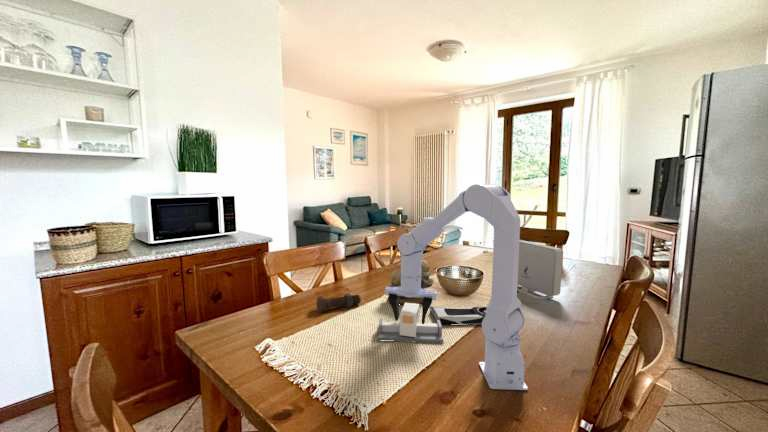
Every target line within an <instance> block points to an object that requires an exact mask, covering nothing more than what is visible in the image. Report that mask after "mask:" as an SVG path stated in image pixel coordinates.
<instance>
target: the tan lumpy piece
mask: <svg viewBox="0 0 768 432" xmlns="http://www.w3.org/2000/svg"><path fill="white" fill-rule="evenodd" d="M430 268H431V267H430V264H429V262H428V261H427V260H426V259H422V262H421V289H428V288H431V287H432V286H433V284H434V282H435V281H434V280H435V279H434V278H432V277H431V278H430V275H431V273H430ZM390 283H391V284H389V285H387V287H401V262H398V263H397V264H395V266H394V270H392V272H391V276H390ZM388 298H389V296H388V297H387V299H388ZM423 299H424V298H416V297H405V296H399V304H400V305H399V306H401V305H404V304H405V303H415V304H422V302H423Z"/></svg>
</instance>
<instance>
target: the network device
mask: <svg viewBox="0 0 768 432" xmlns="http://www.w3.org/2000/svg"><path fill="white" fill-rule="evenodd" d="M563 261H564V251H563V248H560V247H556V246H551V245H545V244H541V243H537V242H531V241H528V240H523V239H520V240H519V262H518V284H517V286H521V288H518V287H517V290H518V291H517V292H520V293H522V294H524V295H527V296H530V297H532V298H535V299H538V300H546V299H547V300H548V299H552V298H553V297H554V296H559V295H560V294H561V287H562V286H561V285H562V275H563V274H562V273H563ZM533 292H538V293H540V294H543V295H544V296H538V295H536V294H533Z"/></svg>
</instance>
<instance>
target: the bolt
mask: <svg viewBox="0 0 768 432" xmlns="http://www.w3.org/2000/svg"><path fill="white" fill-rule="evenodd" d="M361 303H362V298H361V295H360V294H353V295H351V293H349V292H348V293H345V294H344V295H343V296H339V297H332V298H331V297H330V298H325V297H324V296H323V295H318V296H317V298H316V308H317V309H316V310H317V312H318V313H320V314H323V313H325V310H328V309H331V308H332V309H334V308H339V307H345V308H351V307H352V306H353V305H358V304H361Z"/></svg>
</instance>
